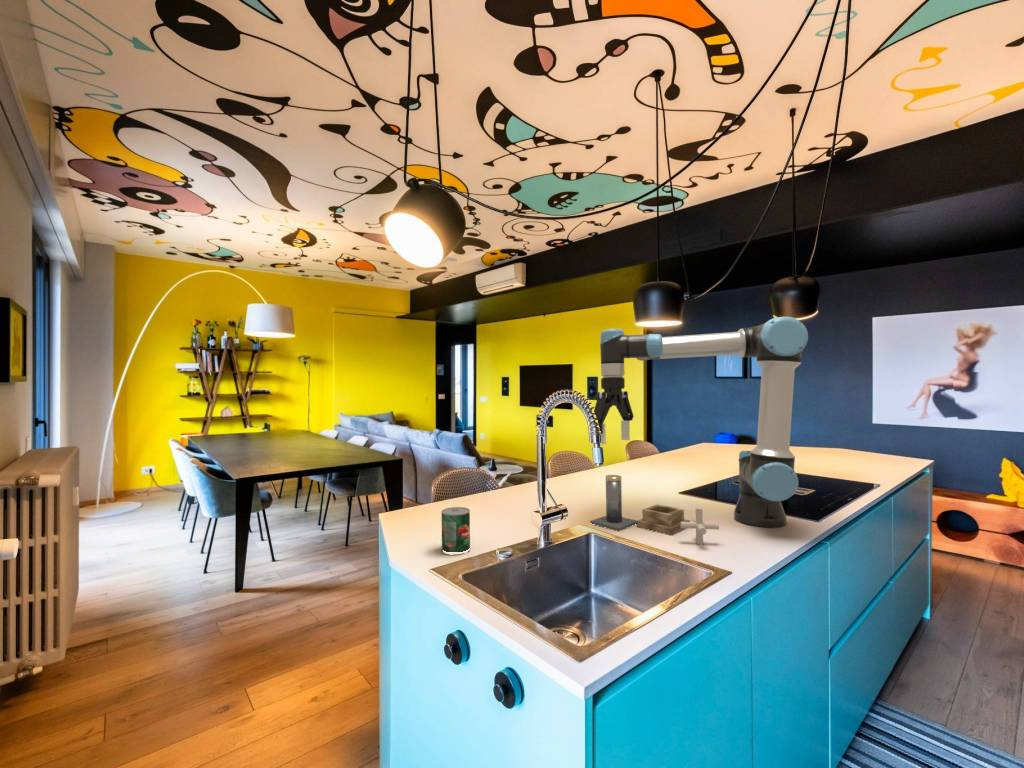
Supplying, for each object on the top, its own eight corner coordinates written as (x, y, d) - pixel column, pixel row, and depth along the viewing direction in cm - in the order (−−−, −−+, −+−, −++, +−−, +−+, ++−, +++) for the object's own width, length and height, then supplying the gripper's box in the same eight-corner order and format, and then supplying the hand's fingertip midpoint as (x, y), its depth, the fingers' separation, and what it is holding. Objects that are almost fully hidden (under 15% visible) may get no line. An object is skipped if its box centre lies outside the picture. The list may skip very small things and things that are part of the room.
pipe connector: (722, 550, 126) (722, 513, 126) (683, 548, 128) (683, 512, 128) (714, 538, 136) (713, 504, 136) (678, 536, 138) (677, 503, 138)
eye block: (690, 526, 147) (690, 509, 147) (671, 535, 139) (671, 517, 139) (655, 519, 156) (655, 502, 156) (636, 527, 148) (636, 509, 148)
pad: (638, 523, 151) (638, 520, 151) (618, 531, 144) (618, 528, 144) (609, 517, 159) (609, 514, 159) (590, 524, 152) (590, 520, 152)
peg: (625, 520, 151) (624, 476, 151) (616, 524, 148) (615, 478, 148) (612, 517, 155) (611, 474, 155) (603, 520, 152) (602, 476, 152)
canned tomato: (471, 554, 126) (470, 513, 126) (441, 556, 124) (441, 515, 124) (469, 544, 133) (468, 506, 134) (441, 546, 132) (441, 507, 132)
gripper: (624, 377, 163) (625, 437, 163) (579, 377, 146) (580, 444, 146) (643, 376, 158) (644, 439, 158) (599, 376, 141) (600, 446, 140)
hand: (613, 442), depth 152 cm, fingers open, 13 cm apart
